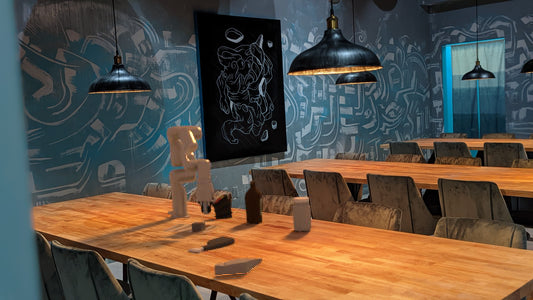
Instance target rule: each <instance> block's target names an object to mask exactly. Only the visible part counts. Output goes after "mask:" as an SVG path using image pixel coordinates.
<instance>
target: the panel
mask: <svg viewBox="0 0 533 300" xmlns="http://www.w3.org/2000/svg"><path fill="white" fill-rule="evenodd" d="M219 227H221V224H205V230H203V231H192V223H177V224H174V225H172V226H170V227H168V228H165V229H163V230H162V232H171V233H173V232H175V233H176V232H177V233H197V234H196V235H197V236H202V235H204V236H205V235H207V233H209V232H211V231H213V230H215V229H217V228H219Z"/></svg>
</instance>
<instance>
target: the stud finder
mask: <svg viewBox="0 0 533 300" xmlns="http://www.w3.org/2000/svg"><path fill="white" fill-rule="evenodd" d="M191 224H192V231H203V230H205V225H206V222H204V221H196V222H195V221H194V222H193V223H191Z"/></svg>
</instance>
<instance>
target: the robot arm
mask: <svg viewBox="0 0 533 300" xmlns="http://www.w3.org/2000/svg"><path fill="white" fill-rule="evenodd" d="M202 137H203V131H202V129H201V127H199V126H198V125H179V126H178V125H176V126H175V125H174V126H170V127H168V129H167V131H166V138H167V141H168V143H169V154H170V164H171V166H172V168H173V167H174V168H176V169H171V171H170V172H169V174H168V177H169V182H170V189H171V203H172V204H171V205H172V210H167V211H168V212H167V214H168V215H170V219H172V220H176V219H189V218H190V217H191V214H189V213H188V197H187V196H188V195H187V194H188V193H187V189H186V187H185V186H184V185H183V184H189V183H193V182H197V183H196V187H195V199H194V202H195V203H197V204H199V206H200V211H201V213H202V214H204V212H203V201H207V202H208V206H207V211H208V213H209V214H210V213H212V204H213V203H214V202H216V200H217V198H216V197H215V190H214V185H213V183H212V176H211V161H210V160H209V159H205V158H198V159H197V158H196V156H195V154H194V152H196V151H197V149H198V148H199V145H198V142H197V141H199V140H201V139H202ZM182 167H183V168H182Z"/></svg>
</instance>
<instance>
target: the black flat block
mask: <svg viewBox="0 0 533 300" xmlns="http://www.w3.org/2000/svg"><path fill="white" fill-rule="evenodd" d="M231 205H232V202H230V200H229V196H228V195H227V194H222V195H220V196H219V197H218V198H216V202H214V203H213V204H212V205H211V207H213V209H214V210H213V212H214V218H215V219H216V220H225V219H229V218H233V211H232V207H231Z"/></svg>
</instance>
